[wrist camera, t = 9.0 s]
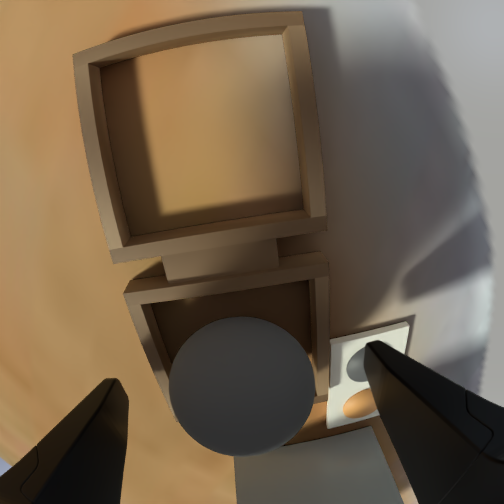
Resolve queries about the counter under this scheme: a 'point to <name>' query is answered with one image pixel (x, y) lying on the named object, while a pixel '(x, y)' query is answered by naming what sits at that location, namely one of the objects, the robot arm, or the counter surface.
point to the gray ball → (241, 386)
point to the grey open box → (319, 473)
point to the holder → (219, 233)
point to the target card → (356, 374)
